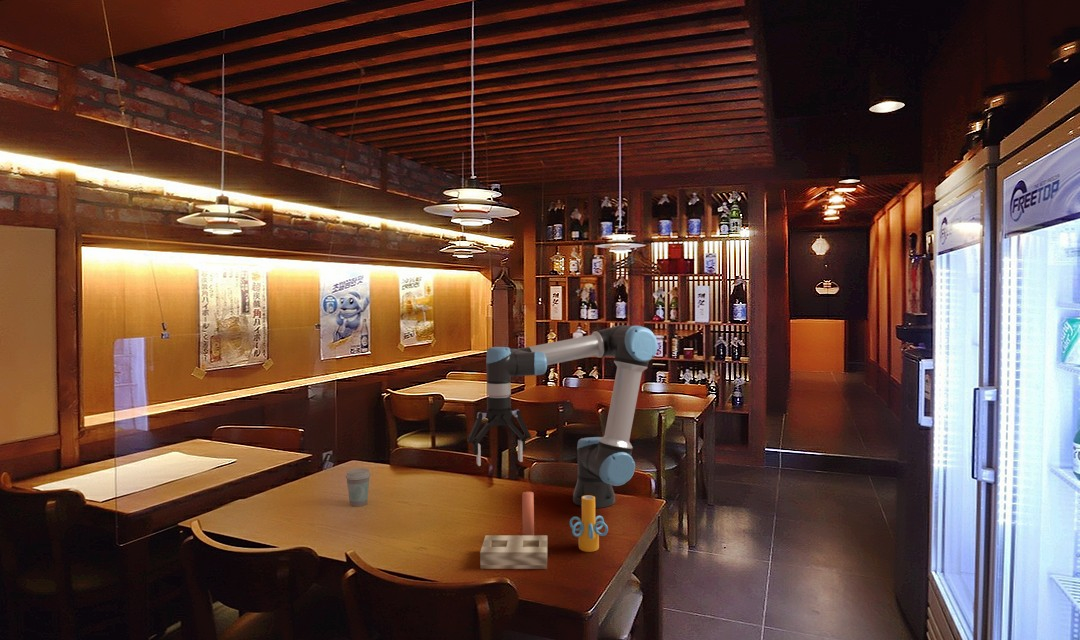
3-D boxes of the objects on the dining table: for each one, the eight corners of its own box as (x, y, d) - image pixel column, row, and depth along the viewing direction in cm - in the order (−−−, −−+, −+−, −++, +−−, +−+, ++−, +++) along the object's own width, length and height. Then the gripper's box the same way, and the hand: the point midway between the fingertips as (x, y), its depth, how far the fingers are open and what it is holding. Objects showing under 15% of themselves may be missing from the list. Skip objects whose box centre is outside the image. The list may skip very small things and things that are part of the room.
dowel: (534, 536, 187) (533, 491, 187) (533, 541, 184) (533, 495, 184) (523, 536, 188) (522, 491, 187) (522, 541, 184) (521, 495, 184)
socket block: (547, 550, 177) (547, 535, 176) (546, 568, 165) (546, 552, 164) (485, 550, 177) (485, 535, 177) (480, 568, 165) (480, 552, 165)
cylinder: (568, 540, 184) (567, 491, 183) (602, 539, 185) (601, 490, 184) (573, 557, 172) (573, 505, 171) (610, 556, 173) (609, 503, 172)
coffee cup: (341, 506, 217) (340, 473, 217) (356, 499, 225) (356, 467, 225) (360, 509, 214) (360, 475, 214) (375, 501, 222) (375, 469, 222)
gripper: (533, 392, 200) (533, 456, 200) (457, 396, 192) (458, 463, 193) (540, 395, 192) (540, 462, 193) (461, 400, 185) (463, 469, 185)
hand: (499, 462), depth 193 cm, fingers open, 13 cm apart
